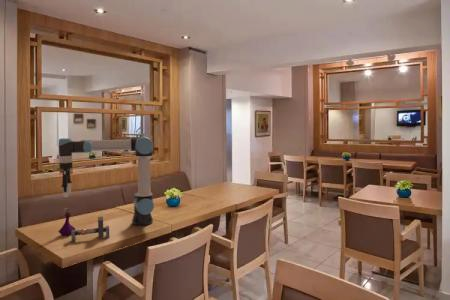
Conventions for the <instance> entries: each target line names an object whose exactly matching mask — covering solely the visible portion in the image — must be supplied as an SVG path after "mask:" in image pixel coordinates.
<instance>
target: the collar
mask: <svg viewBox="0 0 450 300" xmlns="http://www.w3.org/2000/svg"><path fill="white" fill-rule="evenodd" d="M103 227H104V216H98V217H97V228H98V233H97V234H98V239H104V238H105V237H104V235H105V234H104V233H105V232H103Z"/></svg>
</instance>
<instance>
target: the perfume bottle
mask: <svg viewBox="0 0 450 300" xmlns="http://www.w3.org/2000/svg"><path fill="white" fill-rule="evenodd" d="M62 210H63V213H65V214H64V217H65V221H64V224H63V225H62V227H61V228H60V229H59V230H58V233H59V234H60V235H62V237H65V236H66V237H69V236H70V235H71V232H72V230H75V231H76V228H75V227H74V226H73V225H72V224H71V223H70V217H72V214H71V211H69V208H63V209H62Z"/></svg>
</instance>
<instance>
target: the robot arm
mask: <svg viewBox="0 0 450 300" xmlns="http://www.w3.org/2000/svg"><path fill="white" fill-rule="evenodd" d="M57 146H58V158H57V159H58V160H59V164H58V165H59V169H60V170H62V185H61V188H62V197H63V198H68V197H69V194H71V193H72V187H71V186H72V182H73V181H72V179H71V178H72V177H71V171H70V169H73V168H74V167H73V154H77V153H78V154H79V153H80V154H81V153H82V154H83V153H92V152H103V151H104V152H105V151H106V152H107V151H109V152H110V151H129V152H135V154H134V155H135V157H136V158H137V192H135V193H133V216H132V219H131V224H132V225H133V226H139V227H141V226H147V225H151V224H152V223H153V222H154V218H153V216H152V212H153V210H154V209H155V204H154V195H153V192H151V190H152V189H151V187H152V186H151V158H152V157H153V150H154V142H153V140H152V139H151V138H149V137H148V136H139V137H138V136H137V137H130V138H129V139H98V140H97V139H96V140H95V139H94V140H92V139H91V140H80V141H78V140H77V141H75V140H74V141H73V140H72V138H70V137H68V138H67V137H66V138H64V137H63V138H59V139H58V145H57Z"/></svg>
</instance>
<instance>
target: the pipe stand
mask: <svg viewBox="0 0 450 300" xmlns="http://www.w3.org/2000/svg"><path fill="white" fill-rule="evenodd" d="M103 233H105V238H106V239H110V226H109V225H106V226H103ZM91 234H98V227H95V228H84V229H83V228H82V229H78V230H77V229H75V230H72V232H71V243H76V240H77V237H76V236H85V235H91Z"/></svg>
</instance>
